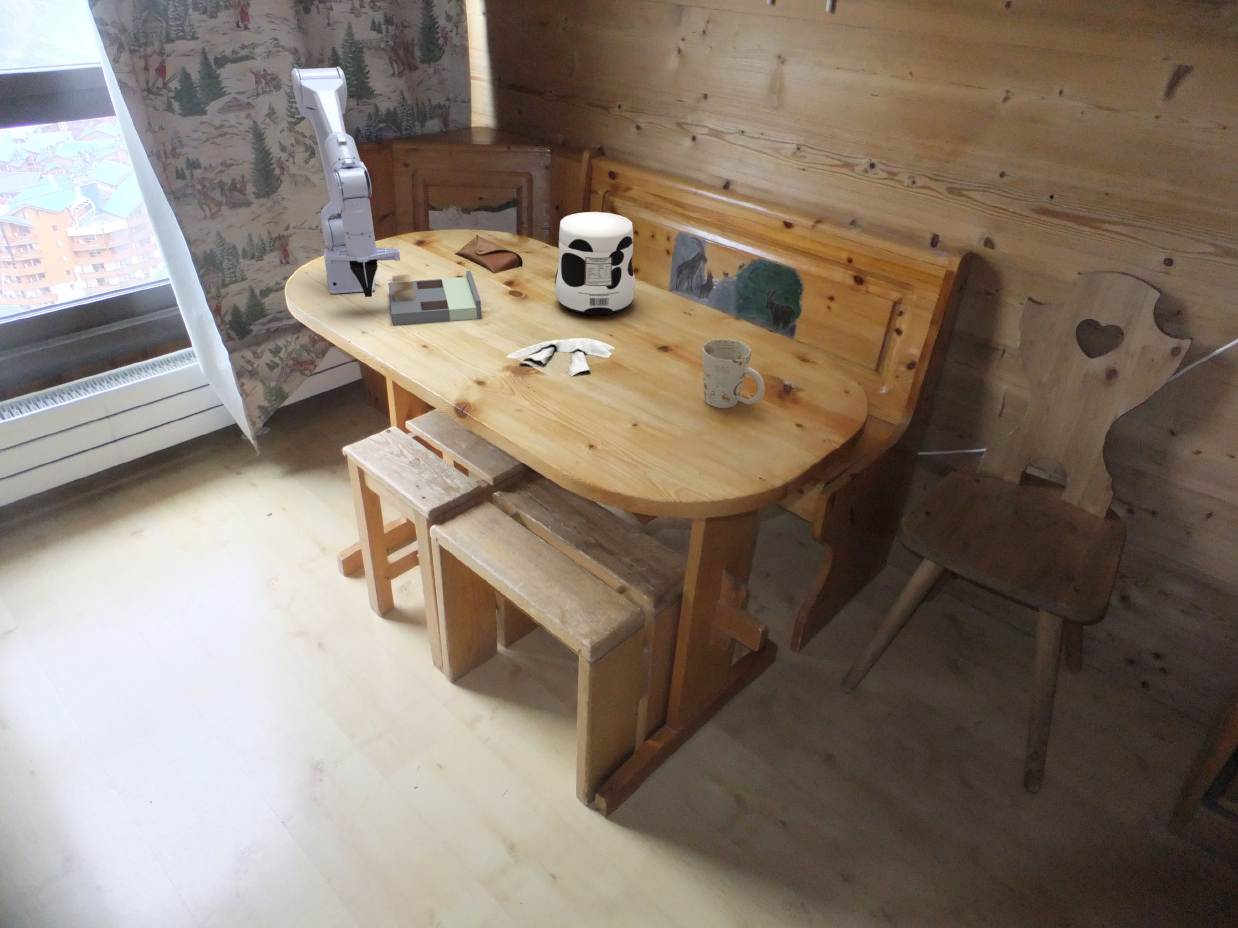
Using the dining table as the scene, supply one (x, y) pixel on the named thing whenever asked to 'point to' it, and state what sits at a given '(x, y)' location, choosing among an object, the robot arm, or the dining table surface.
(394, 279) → the beech block
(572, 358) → the cloth
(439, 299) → the trap board
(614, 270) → the milk container
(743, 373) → the mug
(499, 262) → the sunglasses case
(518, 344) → the dining table surface
